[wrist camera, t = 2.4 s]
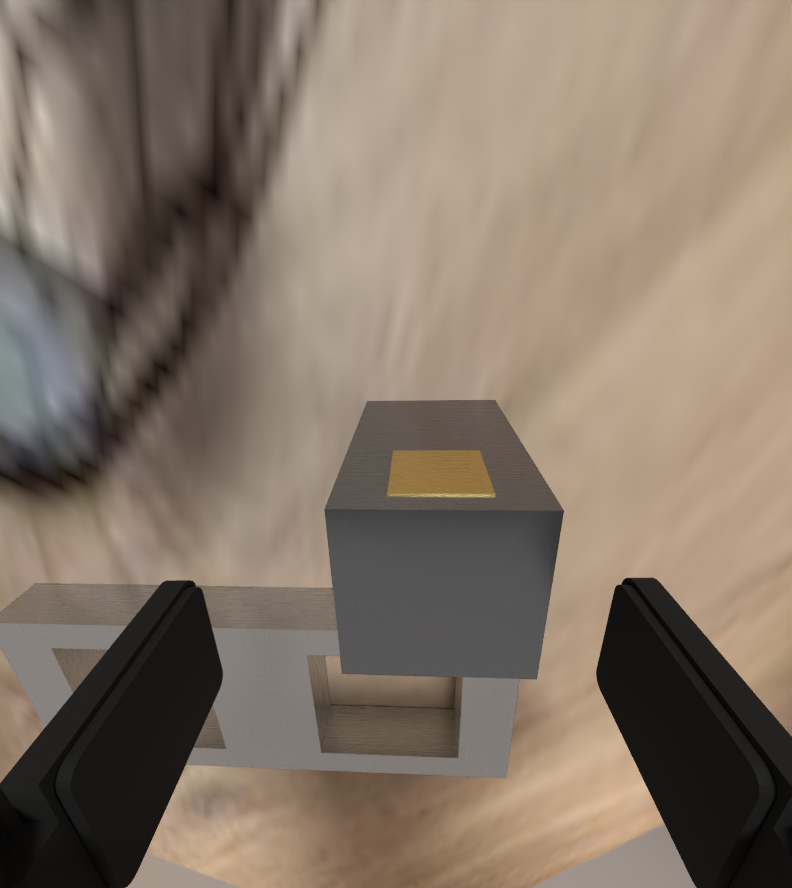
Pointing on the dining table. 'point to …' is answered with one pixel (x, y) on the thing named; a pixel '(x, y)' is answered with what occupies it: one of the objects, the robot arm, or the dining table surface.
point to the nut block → (441, 544)
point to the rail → (263, 684)
